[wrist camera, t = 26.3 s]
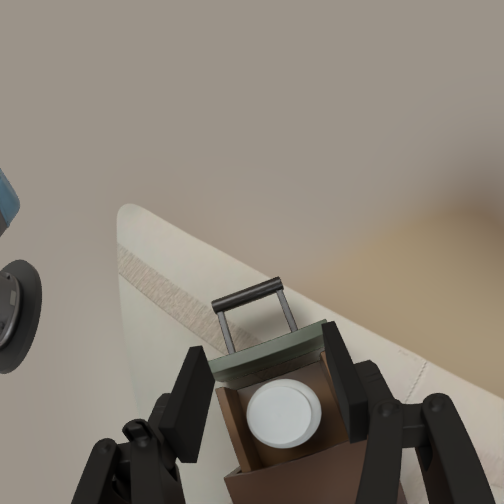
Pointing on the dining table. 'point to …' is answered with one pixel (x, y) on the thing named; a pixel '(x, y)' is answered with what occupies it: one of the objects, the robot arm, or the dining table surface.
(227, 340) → the drawer
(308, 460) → the cabinet
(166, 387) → the dining table surface
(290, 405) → the pill bottle
